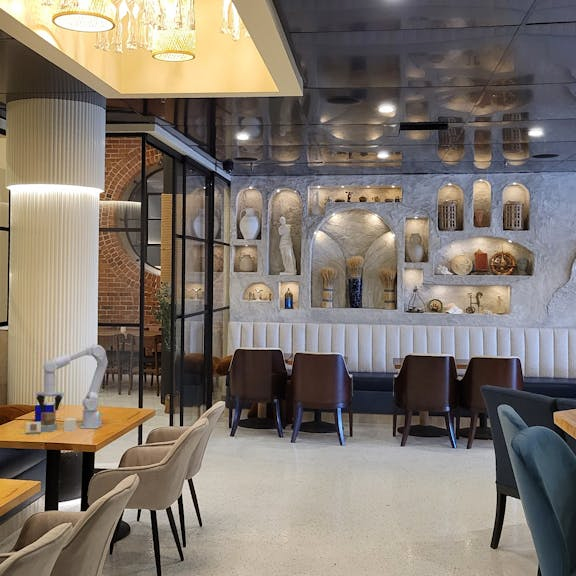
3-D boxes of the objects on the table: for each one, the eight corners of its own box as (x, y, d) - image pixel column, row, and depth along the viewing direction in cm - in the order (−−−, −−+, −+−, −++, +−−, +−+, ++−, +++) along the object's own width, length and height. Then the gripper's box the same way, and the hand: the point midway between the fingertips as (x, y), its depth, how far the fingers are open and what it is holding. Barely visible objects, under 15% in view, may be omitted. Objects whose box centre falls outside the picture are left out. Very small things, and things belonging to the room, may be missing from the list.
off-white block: (76, 429, 389) (76, 418, 389) (72, 431, 384) (73, 419, 384) (67, 429, 389) (67, 418, 389) (63, 431, 385) (64, 419, 385)
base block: (56, 430, 390) (56, 423, 390) (51, 432, 381) (51, 426, 381) (40, 429, 390) (40, 423, 390) (34, 432, 381) (35, 425, 381)
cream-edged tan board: (40, 432, 380) (40, 421, 380) (40, 433, 376) (40, 422, 376) (26, 433, 377) (26, 421, 378) (25, 434, 374) (26, 422, 374)
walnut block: (54, 424, 386) (54, 412, 386) (46, 425, 382) (46, 414, 382) (48, 423, 389) (48, 411, 389) (40, 424, 385) (41, 413, 385)
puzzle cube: (34, 423, 406) (34, 405, 406) (37, 420, 416) (37, 402, 416) (53, 423, 408) (53, 404, 408) (55, 419, 418) (55, 402, 418)
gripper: (66, 383, 391) (65, 409, 391) (39, 382, 392) (38, 408, 392) (61, 385, 384) (60, 411, 384) (33, 384, 385) (33, 410, 385)
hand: (49, 410), depth 387 cm, fingers open, 7 cm apart
